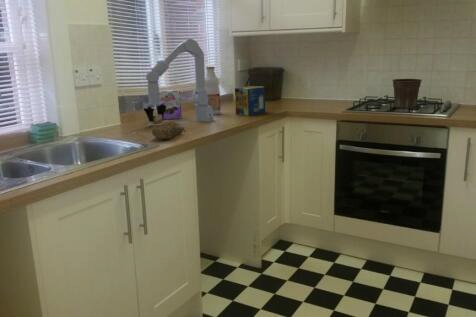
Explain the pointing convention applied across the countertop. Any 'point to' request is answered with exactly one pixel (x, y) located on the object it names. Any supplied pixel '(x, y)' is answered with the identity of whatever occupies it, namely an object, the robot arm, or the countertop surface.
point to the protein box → (250, 100)
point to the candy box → (171, 104)
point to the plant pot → (406, 92)
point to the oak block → (157, 119)
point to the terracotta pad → (167, 121)
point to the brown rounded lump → (167, 130)
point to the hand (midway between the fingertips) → (156, 120)
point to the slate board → (173, 121)
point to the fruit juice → (212, 90)
